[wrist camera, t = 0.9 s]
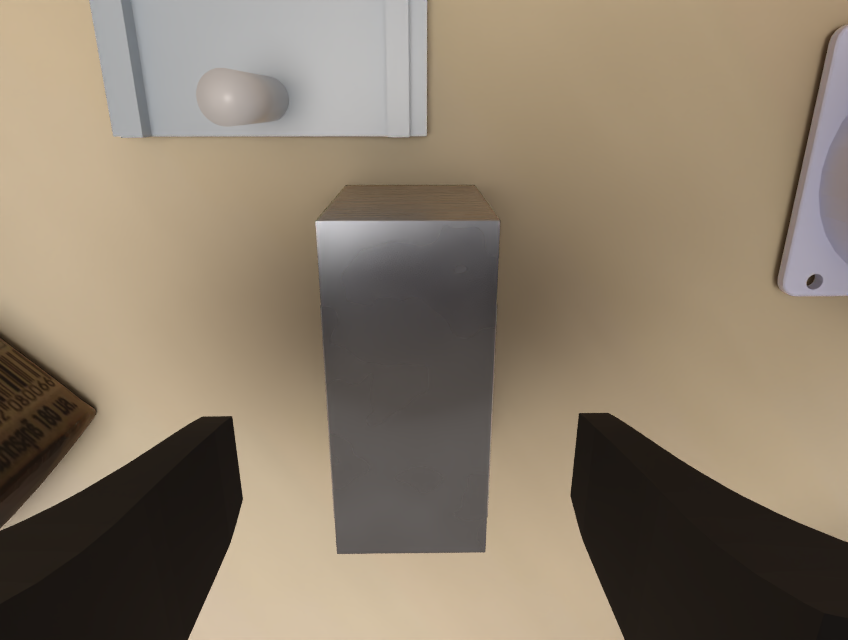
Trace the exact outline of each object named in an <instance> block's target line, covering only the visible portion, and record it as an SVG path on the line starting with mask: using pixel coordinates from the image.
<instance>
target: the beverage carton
mask: <svg viewBox="0 0 848 640" xmlns="http://www.w3.org/2000/svg"><path fill="white" fill-rule="evenodd" d="M95 415H96V410H95V409H94V408H92V407H91V406H89V405H88V404H87V403H85V402H84V401H82V400H81V399H79V398H78V397H77V396H76V395H75V394H73V393H72V392H71V391H70V390H68V389H67V388H66V387H64V386H63V385H62V384H61V383H59V382H58V381H57V380H55V379H54V378H53V377H51V376H50V375H49V374H47V373H46V372H45V371H43V370H42V369H41V368H39V367H38V366H37V365H35V364H34V363H33V362H31V361H30V360H29V359H27V358H26V357H25V356H23V355H22V354H21V353H19V352H18V351H17V350H15V349H14V348H13V347H12V346H10V345H9V344H8V343H6V342H5V341H4V340H2V339H1V338H0V528H1V527H2V526H3V525H4V524H5V523H6V522H7V521H8V520H9V519H10V518H11V517H12V516H13V515H14V514H15V513H16V511H17V510H18V509H19V508H20V507H21V506H22V505H23V504H24V503H25V501H26V500H27V499H28V498H29V497H30V496H31V495H32V494H33V493H34V492H35V490H36V489H37V488H38V487H39V486H40V485H41V484H42V483H43V481H44V480H45V479H46V478H47V476H48V475H49V474H50V473H51V472H52V470H53V469H54V468H55V467H56V466H57V464H58V463H59V462H60V461H61V460H62V458H63V457H64V456H65V455H66V453H67V452H68V451H69V450H70V448H71V447H72V446H73V444H74V443H75V442H76V441H77V439H78V438H79V437H80V436H81V434H82V433H83V432H84V430H85V429H86V427H87V426H88V425H89V423H90V422H91V421H92V419H93V418H94V416H95Z"/></svg>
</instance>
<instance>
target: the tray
mask: <svg viewBox="0 0 848 640" xmlns="http://www.w3.org/2000/svg"><path fill="white" fill-rule="evenodd" d="M89 1H90V7H91V13H92V18H93V24H94V30H95V35H96V41H97V47H98V52H99V58H100V64H101V69H102V75H103V81H104V86H105V92H106V98H107V103H108V109H109V115H110V120H111V126H112V132H113V136H121V138H140V137H151V136H388V137H410V136H427V0H89Z"/></svg>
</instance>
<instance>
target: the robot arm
mask: <svg viewBox="0 0 848 640" xmlns="http://www.w3.org/2000/svg"><path fill="white" fill-rule="evenodd" d="M814 274H815V279H814V281H813V283H811V284H810V285H808V286H807V284H806V282H807V280H808V278H809V277H810V276H811V275H814ZM778 287H779V289H780V290H781V291H783V292H784V293H786V294H788V295H791V296H848V24H847V25H843V26H842V27H840V28H839V29H837V30H836V31H835V33H834V34H833V35H832V37H831V39H830V42H829V45H828V50H827V54H826V59H825V64H824V68H823V73H822V77H821V82H820V87H819V91H818V96H817V100H816V105H815V109H814V114H813V119H812V123H811V128H810V132H809V137H808V142H807V146H806V151H805V155H804V160H803V165H802V169H801V174H800V178H799V183H798V187H797V192H796V197H795V201H794V206H793V210H792V215H791V220H790V224H789V229H788V233H787V238H786V243H785V247H784V252H783V256H782V261H781V265H780V270H779V275H778ZM571 499H572V503H573V507H574V511H575V515H576V519H577V522H578V526H579V529H580V533H581V536H582V539H583V542H584V544H585V547H586V549H587V552H588V554H589V556H590V559H591V561H592V564H593V566H594V568H595V571H596V573H597V576H598V578H599V580H600V583H601V585H602V587H603V590H604V592H605V594H606V597H607V599H608V601H609V604H610V606H611V608H612V611H613V613H614V615H615V618H616V620H617V622H618V625H619V627H620V629H621V632H622V634H623V636H624V639H625V640H848V542H845V541H842V540H840V539H837V538H835V537H832V536H830V535H827V534H825V533H822V532H820V531H818V530H815V529H813V528H810V527H808V526H805V525H803V524H800V523H798V522H796V521H794V520H791V519H789V518H787V517H785V516H782V515H780V514H778V513H776V512H774V511H772V510H770V509H768V508H766V507H764V506H762V505H760V504H758V503H756V502H753V501H751V500H749V499H747V498H745V497H743V496H741V495H740V494H738V493H736V492H734V491H732V490H730V489H728V488H727V487H725V486H723V485H721V484H720V483H718V482H716V481H715V480H713V479H711V478H709V477H708V476H706V475H704V474H703V473H701V472H699V471H698V470H696V469H694V468H693V467H691V466H689V465H688V464H686V463H685V462H683V461H681V460H680V459H678V458H677V457H675V456H674V455H672V454H671V453H669V452H668V451H666V450H665V449H663V448H662V447H660V446H659V445H657V444H656V443H654V442H653V441H651V440H650V439H648V438H647V437H645V436H644V435H642V434H641V433H639V432H638V431H636V430H635V429H633V428H632V427H630V426H629V425H627V424H626V423H624V422H623V421H621V420H620V419H618V418H616V417H615V416H613V415H611V414H609V413H579V419H578V429H577V438H576V448H575V458H574V467H573V477H572V487H571ZM242 500H243V497H242V489H241V481H240V474H239V466H238V458H237V450H236V443H235V435H234V427H233V419H232V416H220V417H201V418H199V419H197V420H195V421H193V422H192V423H190V424H188V425H187V426H185V427H184V428H182V429H180V430H179V431H177V432H176V433H174V434H173V435H171V436H170V437H168V438H167V439H165V440H164V441H162V442H161V443H159V444H157V445H156V446H154V447H153V448H151V449H150V450H148V451H147V452H145V453H144V454H142V455H140V456H139V457H137V458H136V459H134V460H133V461H131V462H130V463H128V464H126V465H125V466H123V467H121V468H120V469H118V470H116V471H115V472H113V473H111V474H110V475H108V476H106V477H105V478H103V479H101V480H100V481H98V482H96V483H95V484H93V485H91V486H89V487H88V488H86V489H84V490H83V491H81V492H79V493H77V494H75V495H74V496H72V497H70V498H68V499H66V500H64V501H62V502H60V503H59V504H57V505H55V506H53V507H51V508H49V509H47V510H44V511H42V512H40V513H38V514H36V515H34V516H32V517H30V518H28V519H26V520H24V521H22V522H20V523H17V524H15V525H13V526H11V527H8V528H6V529H3V530H1V531H0V640H188V638H189V636H190V634H191V631H192V629H193V627H194V625H195V622H196V620H197V618H198V616H199V613H200V611H201V609H202V607H203V604H204V602H205V600H206V598H207V595H208V593H209V591H210V589H211V586H212V584H213V582H214V580H215V577H216V575H217V573H218V571H219V568H220V566H221V564H222V561H223V559H224V557H225V554H226V552H227V550H228V547H229V545H230V543H231V539H232V536H233V533H234V529H235V526H236V523H237V519H238V515H239V512H240V508H241V504H242Z"/></svg>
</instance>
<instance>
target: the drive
mask: <svg viewBox="0 0 848 640" xmlns="http://www.w3.org/2000/svg"><path fill="white" fill-rule="evenodd" d="M316 236H317V252H318V267H319V283H320V298H321V305H320V309H321V324H322V339H323V355H324V370H325V385H326V401H327V416H328V431H329V447H330V462H331V477H332V493H333V508H334V518H335V530H336V545H337V554H366V553H462V552H485V546H486V524H487V517H488V498H489V476H490V454H491V432H492V411H493V389H494V367H495V345H496V323H497V282H498V260H499V238H500V219H499V218H498V217H497V215H496V214H495V213H494V211H493V210H492V209H491V207H490V206H489V204H488V203H487V202H486V200H485V199H484V198H483V196H482V195H481V193H480V192H479V191H478V189H477V188H476V187H475V185H346V186H345V187H344V188H343V189H342V190H341V192H340V193H339V194H338V195H337V196H336V198H335V199H334V200H333V201H332V202H331V203H330V205H329V206H328V207H327V208H326V209H325V210H324V212H323V213H322V214H321V215H320V216H319V218H318V219H317V220H316Z"/></svg>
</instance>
